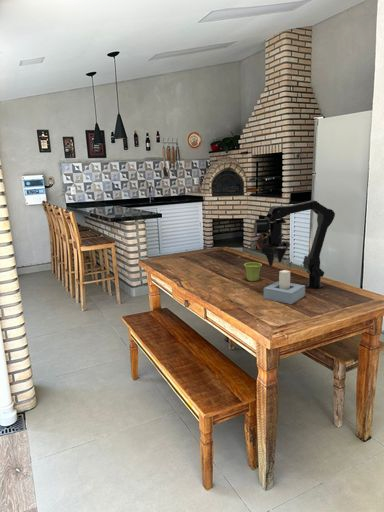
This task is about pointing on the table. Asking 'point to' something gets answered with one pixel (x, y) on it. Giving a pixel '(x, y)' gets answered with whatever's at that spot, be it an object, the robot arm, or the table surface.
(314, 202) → the robot arm
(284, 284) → the post
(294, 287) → the grey thick square frame
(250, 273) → the plant pot
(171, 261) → the table surface
